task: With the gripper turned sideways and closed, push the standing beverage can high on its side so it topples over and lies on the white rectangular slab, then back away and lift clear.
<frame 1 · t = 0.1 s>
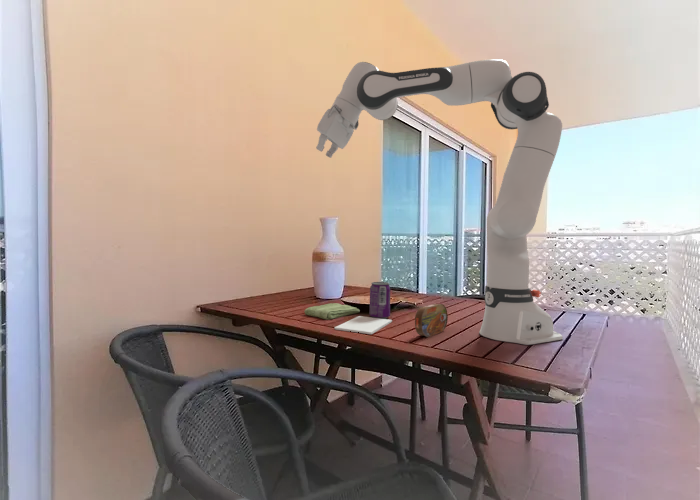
hand: (323, 153, 120), 54 cm above the table, tool tilted 30°, fingers open, 8 cm apart
white rectangular slab: (364, 325, 118), on the table
washcloth: (332, 315, 135), on the table
beverage can: (379, 317, 130), on the table
tin: (431, 334, 110), on the table
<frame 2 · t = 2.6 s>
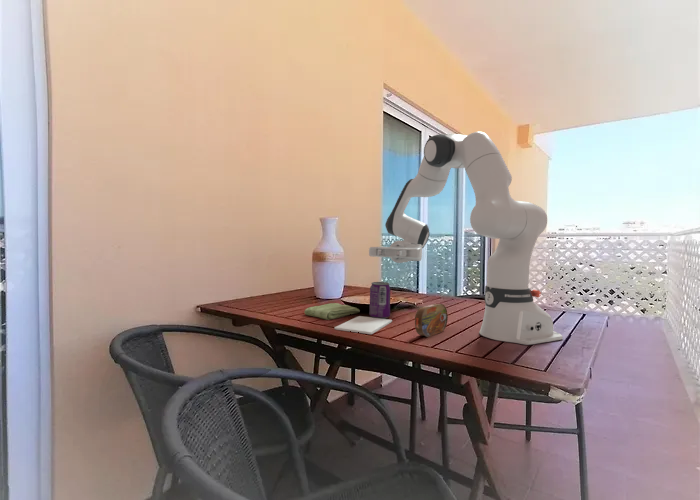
hand: (388, 253, 137), 22 cm above the table, tool horizontal, fingers open, 6 cm apart
nothing on the table moved.
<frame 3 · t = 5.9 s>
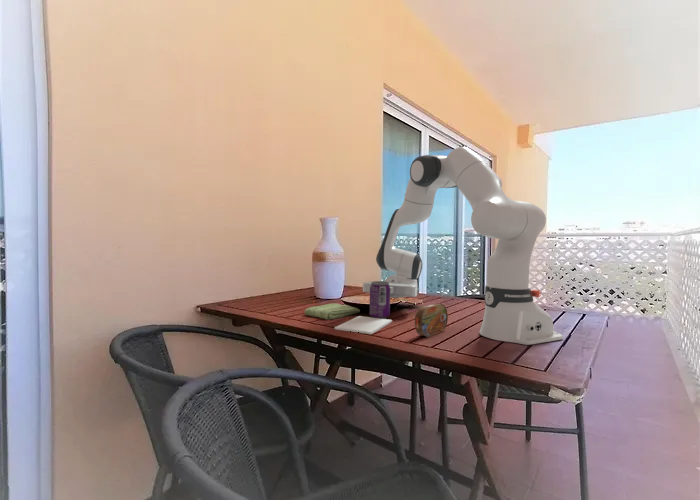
hand: (382, 291, 132), 9 cm above the table, tool horizontal, fingers closed
beverage can: (379, 317, 130), on the table, touching gripper
everything else where it was.
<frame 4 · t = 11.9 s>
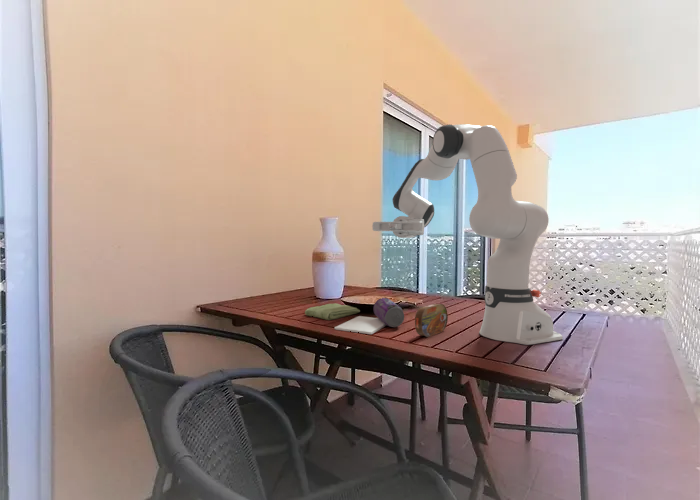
hand: (391, 226, 140), 32 cm above the table, tool horizontal, fingers closed
beverage can: (382, 307, 127), point 4 cm above the table, touching white rectangular slab
everything else where it was.
at the end: beverage can tilted 93°; beverage can touching white rectangular slab, table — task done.
